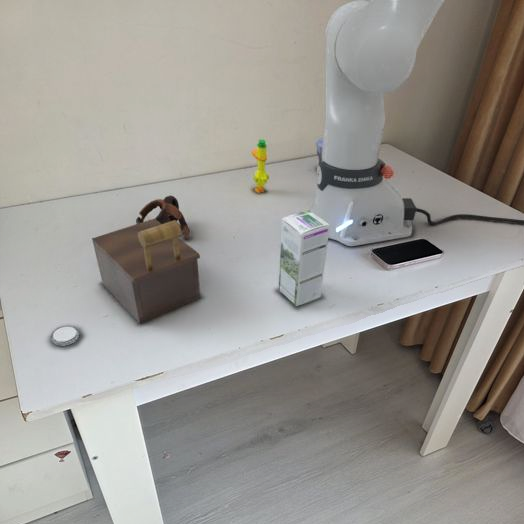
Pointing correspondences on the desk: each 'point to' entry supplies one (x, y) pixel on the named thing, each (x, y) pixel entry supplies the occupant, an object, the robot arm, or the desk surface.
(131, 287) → the box
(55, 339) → the white flat disc
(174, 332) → the desk surface
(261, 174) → the toy figure
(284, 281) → the syrup box
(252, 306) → the desk surface
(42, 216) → the desk surface
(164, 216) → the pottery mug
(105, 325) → the desk surface
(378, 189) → the robot arm
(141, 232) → the chest lid
